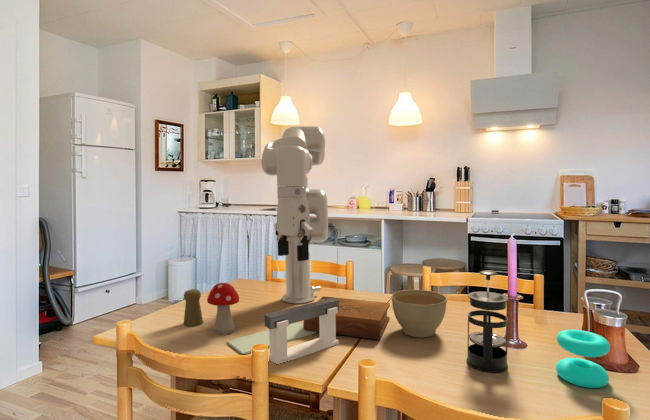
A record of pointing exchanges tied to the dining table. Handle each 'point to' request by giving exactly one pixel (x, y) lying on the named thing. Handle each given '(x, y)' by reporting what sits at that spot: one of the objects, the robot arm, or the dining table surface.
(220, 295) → the decorative mushroom
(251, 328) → the dining table surface
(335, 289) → the dining table surface
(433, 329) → the planter bowl
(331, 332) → the rack
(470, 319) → the french press
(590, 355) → the donuts
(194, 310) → the cork
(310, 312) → the rail
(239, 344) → the mat
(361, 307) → the diary
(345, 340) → the dining table surface
